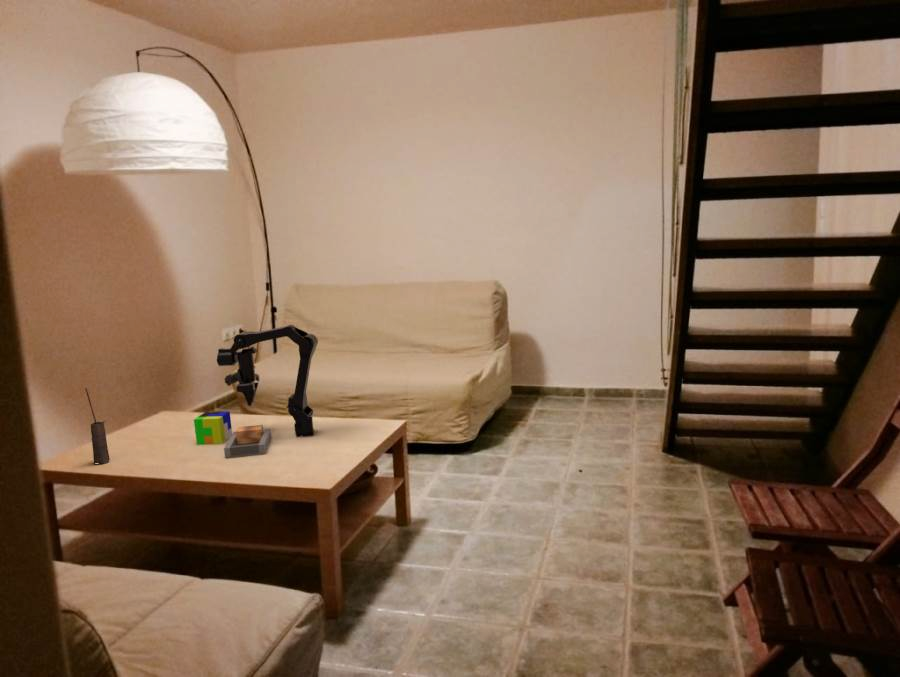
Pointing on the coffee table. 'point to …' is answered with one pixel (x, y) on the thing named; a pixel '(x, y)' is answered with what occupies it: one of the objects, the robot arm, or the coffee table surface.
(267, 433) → the chute
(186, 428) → the coffee table surface
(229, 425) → the puzzle toy
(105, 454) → the butter churn
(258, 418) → the coffee table surface
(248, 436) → the orange block
